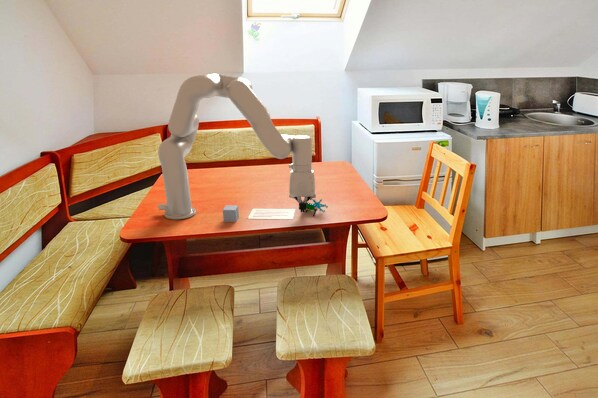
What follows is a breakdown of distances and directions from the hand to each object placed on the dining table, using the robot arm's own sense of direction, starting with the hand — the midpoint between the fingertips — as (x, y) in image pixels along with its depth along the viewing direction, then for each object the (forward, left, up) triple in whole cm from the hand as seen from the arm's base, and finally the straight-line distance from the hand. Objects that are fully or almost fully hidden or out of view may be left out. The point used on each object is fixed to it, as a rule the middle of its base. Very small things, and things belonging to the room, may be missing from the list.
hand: (302, 211), depth 171 cm
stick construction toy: (+4, +1, -1) cm, 4 cm away
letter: (-13, 0, -1) cm, 13 cm away
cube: (-28, -6, -1) cm, 29 cm away
